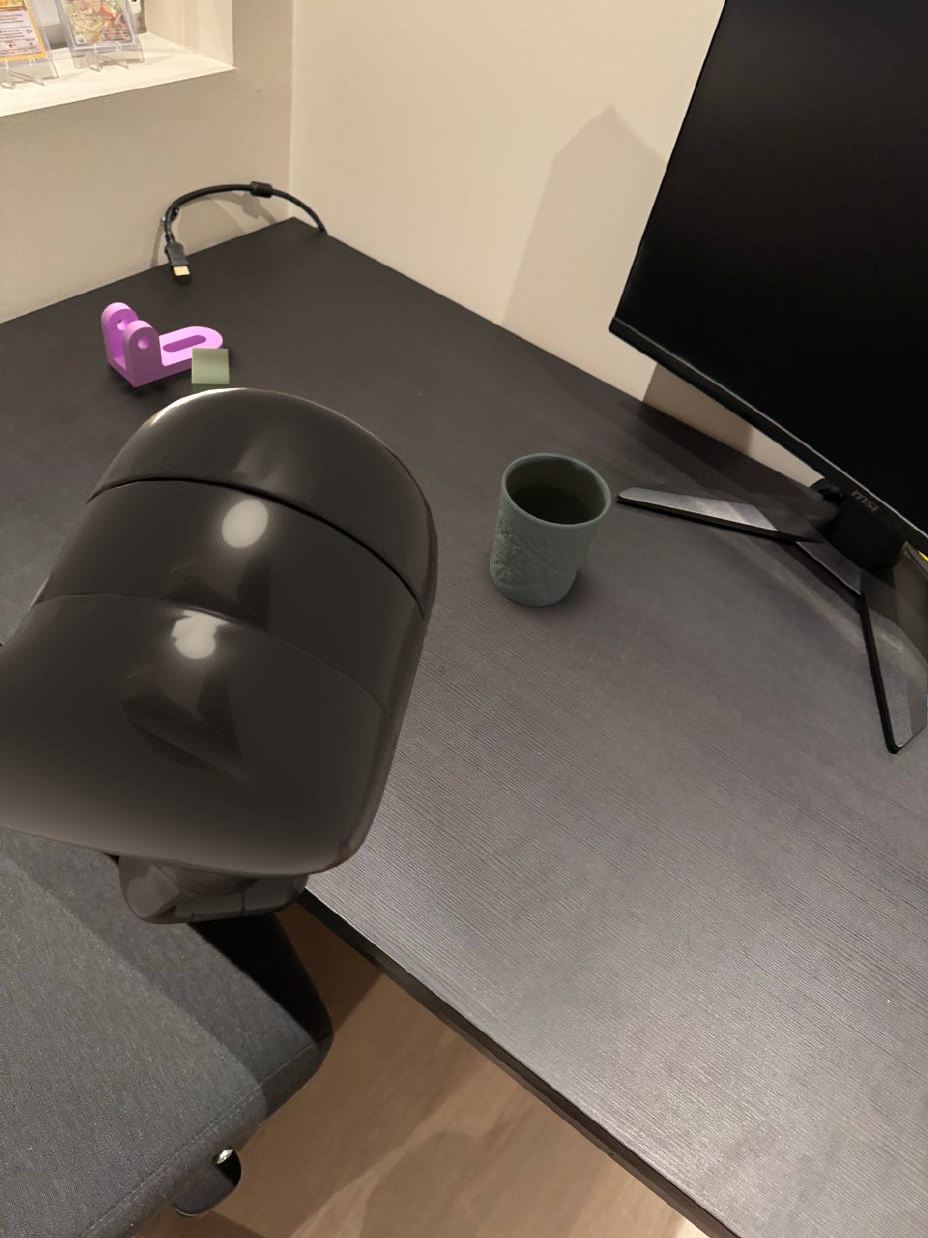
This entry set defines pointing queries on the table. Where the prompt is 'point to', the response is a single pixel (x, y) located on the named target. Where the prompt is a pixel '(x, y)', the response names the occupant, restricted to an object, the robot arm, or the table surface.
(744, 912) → the table surface
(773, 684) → the table surface
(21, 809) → the robot arm
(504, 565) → the grey green embossed cup
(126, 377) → the bracket
